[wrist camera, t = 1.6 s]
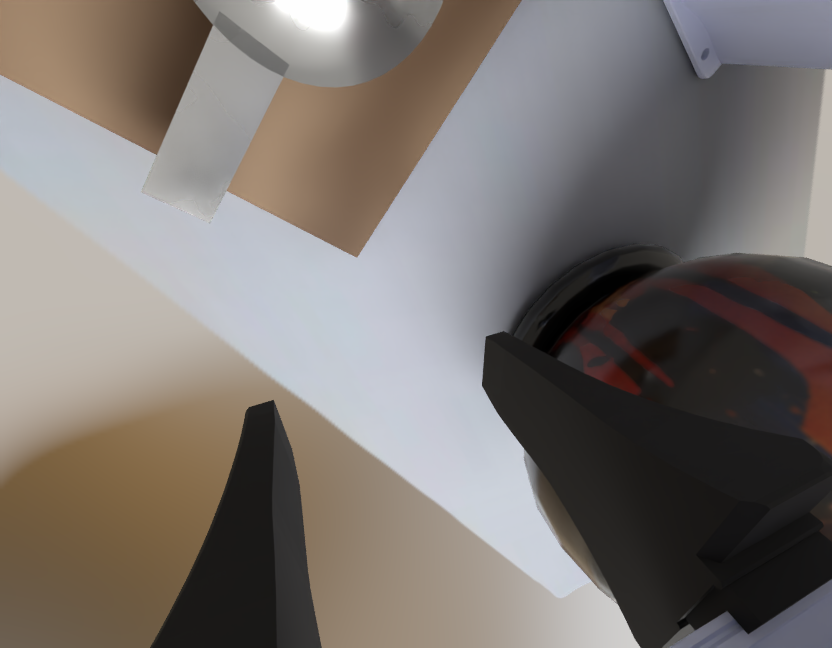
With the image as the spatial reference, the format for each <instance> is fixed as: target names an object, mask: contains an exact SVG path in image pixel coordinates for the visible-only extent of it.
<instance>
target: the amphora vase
mask: <svg viewBox="0 0 832 648" xmlns="http://www.w3.org/2000/svg"><path fill="white" fill-rule="evenodd" d="M513 336H514V337H516V338H518V339H520V340H522V341H523V342H525V343H527V344H529V345H531V346H533V347H535V348H536V349H538V350H540V351H542V352H544V353H546V354H548V355H550V356H551V357H553V358H555V359H557V360H559V361H561V362H563V363H565V364H567V365H569V366H571V367H573V368H575V369H577V370H579V371H581V372H583V373H585V374H587V375H590V376H592V377H594V378H596V379H598V380H601V381H603V382H605V383H607V384H610V385H612V386H614V387H617V388H619V389H621V390H624V391H627V392H629V393H632V394H635V395H637V396H640V397H642V398H645V399H648V400H651V401H654V402H656V403H659V404H662V405H665V406H669V407H672V408H675V409H678V410H681V411H685V412H688V413H691V414H695V415H698V416H702V417H705V418H709V419H713V420H717V421H721V422H725V423H729V424H733V425H737V426H741V427H745V428H750V429H755V430H760V431H765V432H770V433H775V434H780V435H785V436H790V437H795V438H800V439H803V440H805V441H806V442H808V443H809V444H810V445H812V446H813V447H815V448H816V449H818V450H819V451H820V452H822V453H823V454H825V455H826V456H827V457H829V458H830V459H832V266H830V265H827V264H824V263H821V262H818V261H815V260H812V259H809V258H804V257H791V256H778V255H765V254H746V253H732V254H724V255H716V256H709V257H701V258H697V259H693V260H690V261H686V262H683V261H682V259H681V257H680V256H679V255H677V254H675V253H673V252H672V251H670V250H668V249H666V248H664V247H661V246H658V245H650V244H631V245H627V246H623V247H619V248H615V249H611V250H608V251H605V252H602V253H600V254H598V255H596V256H595V257H593V258H591V259H589V260H587V261H585V262H583V263H581V264H579V265H578V266H576V267H574V268H573V269H572V270H571V271H569V272H568V273H567V274H566V275H564V276H563V277H562V278H560V279H559V280H558V281H557V282H555V283H554V284H553V285H552V286H550V288H549V289H548V290H547V291H546V292H545V293H544V294H543V295H542V296H541V297H540V298H539V300H538V301H537V302H536V303H535V304H534V305H533V306H532V307H531V308H530V309H529V311H528V312H527V314H526V316H525V317H524V319H523V320H522V322H521V324H520V325H519V327H518V328H517V330H516V332H515V333H514V335H513ZM524 461H525V465H526V469H527V473H528V478H529V481H530V485H531V488H532V492H533V495H534V499H535V502H536V505H537V508H538V510H539V512H540V513H541V515H542V516H543V518H544V520H545V521H546V523H547V525H548V526H549V528H550V529H551V531H552V533H553V534H554V536H555V537H556V539H557V541H558V542H559V544H560V546H561V547H562V548H563V549H564V551H565V552H566V553H567V554H568V555H569V556H570V557H571V558H572V559H573V561H574V562H575V563H576V564H577V565H578V566H579V567H580V568H581V569H582V571H583V572H584V573H585V574H586V575H587V576H588V577H589V578H590V579H591V581H592V582H593V583H594V584H595V585H596V586H597V587H598V588H599V589H600V590H601V591H602V592H603V593H605V594H606V595H607V596H608V597H609V598H611V599H612V600H613V601H614V602H615V603H617V601H616V599H615V597H614V595H613V593H612V591H611V590H610V588H609V586H608V584H607V582H606V580H605V578H604V576H603V574H602V572H601V570H600V569H599V567H598V565H597V563H596V561H595V559H594V558H593V556H592V554H591V552H590V550H589V548H588V547H587V545H586V543H585V541H584V540H583V538H582V536H581V534H580V533H579V531H578V529H577V527H576V526H575V524H574V522H573V521H572V519H571V517H570V515H569V514H568V512H567V510H566V509H565V507H564V506H563V504H562V502H561V501H560V499H559V497H558V496H557V494H556V492H555V491H554V489H553V488H552V486H551V484H550V483H549V482H548V480H547V479H546V477H545V476H544V474H543V473H542V472H541V470H540V469H539V468H538V466H537V465H536V464H535V462H534V461H533V460H532V458H531V457H530V456H529V454H528V453H527V452H526V450H525V449H524ZM810 513H811V514H813V515H814V516H815V517H816V518H818V519H819V520H820V521H821V522H823V525H824V527H823V528H822V529H820V530H819V532H821V533H822V534H823V535H824V536H825V537H827V538H828V539H829V540H830V541H831V542H832V490H831V491H830V492H829V493H828V494H827V495H826V496H825V497H824V498H823V499H822V500H821V501H820V502H819V503H818V504H817V505H816V506H815V507H814V508H813V509H812V510H811V511H810ZM617 604H618V603H617Z"/></svg>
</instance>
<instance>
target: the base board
mask: <svg viewBox="0 0 832 648" xmlns="http://www.w3.org/2000/svg"><path fill="white" fill-rule="evenodd" d="M520 2H521V0H443V3H442V6H441V8H440V10H439V12H438V14H437V16H436V18H435V20H434V22H433V24H432V26H431V27H430V29H429V30H428V32H427V33H426V35H425V36H424V38H423V39H422V41H421V42H420V43H419V44H418V46H417V47H416V48H415V49H414V50H413V51H412V52H411V54H410V55H409V56H407V57H406V58H405V59H404V60H403V61H402V62H401V63H400V64H398V65H397V66H396V67H394V68H393V69H391V70H390V71H388V72H387V73H385V74H384V75H381V76H379V77H377V78H375V79H373V80H370V81H368V82H364V83H361V84H357V85H354V86H345V87H318V86H313V85H308V84H303V83H300V82H297V81H294V80H291V79H288V78H285V77H283V79H282V81H281V83H280V85H279V87H278V89H277V91H276V93H275V95H274V97H273V99H272V101H271V103H270V105H269V107H268V109H267V111H266V113H265V115H264V117H263V119H262V121H261V123H260V125H259V127H258V129H257V131H256V133H255V135H254V137H253V139H252V141H251V143H250V145H249V147H248V149H247V151H246V153H245V155H244V157H243V159H242V161H241V163H240V165H239V167H238V169H237V171H236V173H235V175H234V177H233V179H232V181H231V183H230V185H229V187H228V189H227V191H228V192H230V193H232V194H234V195H236V196H238V197H240V198H242V199H244V200H246V201H248V202H250V203H252V204H253V205H255V206H257V207H259V208H261V209H263V210H265V211H267V212H269V213H271V214H273V215H275V216H277V217H279V218H281V219H283V220H285V221H287V222H288V223H290V224H292V225H294V226H296V227H298V228H300V229H302V230H304V231H306V232H308V233H310V234H312V235H314V236H316V237H318V238H320V239H322V240H324V241H325V242H327V243H329V244H331V245H333V246H335V247H337V248H339V249H341V250H343V251H345V252H347V253H349V254H351V255H353V256H355V257H358V255H359V254H360V252H361V250H362V249H363V247H364V246H365V244H366V243H367V241H368V240H369V238H370V236H371V235H372V233H373V232H374V230H375V229H376V227H377V225H378V224H379V222H380V221H381V219H382V218H383V216H384V214H385V213H386V211H387V210H388V208H389V207H390V205H391V204H392V202H393V200H394V199H395V197H396V196H397V194H398V193H399V191H400V189H401V188H402V186H403V185H404V183H405V182H406V180H407V179H408V177H409V175H410V174H411V172H412V171H413V169H414V168H415V166H416V164H417V163H418V161H419V160H420V158H421V157H422V155H423V154H424V152H425V150H426V149H427V147H428V146H429V144H430V143H431V141H432V139H433V138H434V136H435V135H436V133H437V132H438V130H439V129H440V127H441V125H442V124H443V122H444V121H445V119H446V118H447V116H448V114H449V113H450V111H451V110H452V108H453V107H454V105H455V104H456V102H457V100H458V99H459V97H460V96H461V94H462V93H463V91H464V89H465V88H466V86H467V85H468V83H469V82H470V80H471V79H472V77H473V75H474V74H475V72H476V71H477V69H478V68H479V66H480V64H481V63H482V61H483V60H484V58H485V57H486V55H487V54H488V52H489V50H490V49H491V47H492V46H493V44H494V43H495V41H496V39H497V38H498V36H499V35H500V33H501V32H502V30H503V29H504V27H505V25H506V24H507V22H508V21H509V19H510V18H511V16H512V14H513V13H514V11H515V10H516V8H517V7H518V5H519V4H520ZM212 27H213V24H212V23H211V22H210V21H209V19H208V18H207V17H206V16H205V15H204V13H203V12H202V11H201V10H200V8H199V7H198V6H197V5H196V3H195V2H194V0H0V75H2V76H4V77H6V78H8V79H10V80H12V81H14V82H16V83H18V84H20V85H22V86H24V87H26V88H28V89H30V90H32V91H33V92H35V93H37V94H39V95H41V96H43V97H45V98H47V99H49V100H51V101H53V102H55V103H57V104H59V105H61V106H63V107H65V108H67V109H69V110H70V111H72V112H74V113H76V114H78V115H80V116H82V117H84V118H86V119H88V120H90V121H92V122H94V123H96V124H98V125H100V126H102V127H104V128H106V129H107V130H109V131H111V132H113V133H115V134H117V135H119V136H121V137H123V138H125V139H127V140H129V141H131V142H133V143H135V144H137V145H139V146H141V147H142V148H144V149H146V150H148V151H150V152H152V153H154V154H156V155H157V154H158V152H159V149H160V147H161V145H162V142H163V140H164V138H165V135H166V133H167V131H168V128H169V126H170V124H171V122H172V119H173V117H174V115H175V112H176V110H177V108H178V105H179V103H180V101H181V98H182V96H183V94H184V91H185V89H186V87H187V85H188V82H189V80H190V78H191V75H192V73H193V71H194V68H195V66H196V64H197V61H198V59H199V57H200V55H201V52H202V50H203V48H204V45H205V43H206V41H207V38H208V36H209V34H210V31H211V29H212Z"/></svg>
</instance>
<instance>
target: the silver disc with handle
mask: <svg viewBox="0 0 832 648" xmlns="http://www.w3.org/2000/svg"><path fill="white" fill-rule="evenodd" d="M194 2H195V3H196V5H197V6H198V7H199V8H200V10H201V11H202V12H203V13H204V15H205V16H206V17H207V18H208V19H209V21H210V22H211V23H212V24H213V27H212V29H211V31H210V34H209V36H208V38H207V41H206V43H205V45H204V48H203V50H202V52H201V55H200V57H199V59H198V61H197V64H196V66H195V68H194V71H193V73H192V75H191V78H190V80H189V82H188V85H187V87H186V89H185V91H184V94H183V96H182V98H181V101H180V103H179V105H178V108H177V110H176V112H175V115H174V117H173V119H172V122H171V124H170V126H169V128H168V131H167V133H166V135H165V138H164V140H163V142H162V145H161V147H160V149H159V152H158V154H157V156H156V158H155V161H154V163H153V165H152V168H151V170H150V172H149V175H148V177H147V179H146V182H145V184H144V186H143V188H142V191H141V192H142V193H144V194H146V195H148V196H151V197H153V198H155V199H157V200H159V201H162V202H164V203H166V204H168V205H170V206H173V207H175V208H177V209H179V210H181V211H184V212H186V213H188V214H190V215H192V216H195V217H197V218H199V219H201V220H203V221H206V222H208V223H210V222H211V220H212V218H213V216H214V214H215V212H216V210H217V208H218V206H219V204H220V202H221V200H222V198H223V196H224V195H225V193H226V191H227V189H228V187H229V185H230V183H231V181H232V179H233V177H234V175H235V173H236V171H237V169H238V167H239V165H240V163H241V161H242V159H243V157H244V155H245V153H246V151H247V149H248V147H249V145H250V143H251V141H252V139H253V137H254V135H255V133H256V131H257V129H258V127H259V125H260V123H261V121H262V119H263V117H264V115H265V113H266V111H267V109H268V107H269V105H270V103H271V101H272V99H273V97H274V95H275V93H276V91H277V89H278V87H279V85H280V83H281V81H282V79H283V77H285V78H288V79H291V80H294V81H297V82H300V83H303V84H308V85H313V86H318V87H345V86H354V85H357V84H361V83H364V82H368V81H370V80H373V79H375V78H377V77H379V76H381V75H384V74H385V73H387V72H388V71H390V70H391V69H393V68H394V67H396V66H397V65H398V64H400V63H401V62H402V61H403V60H404V59H405V58H406V57H407V56H409V55H410V54H411V52H412V51H413V50H414V49H415V48H416V47H417V46H418V44H419V43H420V42H421V41H422V39H423V38H424V36H425V35H426V33H427V32H428V30H429V29H430V27H431V26H432V24H433V22H434V20H435V18H436V16H437V14H438V12H439V10H440V8H441V6H442V3H443V0H194Z"/></svg>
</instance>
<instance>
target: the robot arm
mask: <svg viewBox="0 0 832 648" xmlns="http://www.w3.org/2000/svg"><path fill="white" fill-rule="evenodd" d="M663 1H664V4H665V6H666V8H667V10H668V12H669V14H670V17H671V19H672V21H673V23H674V25H675V27H676V30H677V32H678V34H679V36H680V38H681V40H682V43H683V45H684V47H685V49H686V51H687V54H688V56H689V58H690V60H691V62H692V64H693V67H694V69H695V71H696V73H697V75H698V77H699V78H704V79H708V78H710V77H711V76H712V75H713V74H714V73H715V71H716V70H717V69H718V68H719V67H720V65H721V64H740V65H759V66H778V67H796V68H815V69H832V0H663ZM482 386H483V388H484V390H485V392H486V394H487V395H488V397H489V399H490V401H491V403H492V404H493V406H494V408H495V409H496V411H497V413H498V414H499V416H500V417H501V419H502V420H503V421H504V423H505V424H506V425H507V427H508V428H509V429H510V431H511V432H512V433H513V435H514V436H515V437H516V439H517V440H518V441H519V443H520V444H521V445H522V447H523V448H524V449H525V450H526V452H527V453H528V454H529V456H530V457H531V458H532V460H533V461H534V462H535V464H536V465H537V466H538V468H539V469H540V470H541V472H542V473H543V474H544V476H545V477H546V479H547V480H548V482H549V483H550V484H551V486H552V488H553V489H554V491H555V492H556V494H557V496H558V497H559V499H560V501H561V502H562V504H563V506H564V507H565V509H566V510H567V512H568V514H569V515H570V517H571V519H572V521H573V522H574V524H575V526H576V527H577V529H578V531H579V533H580V534H581V536H582V538H583V540H584V541H585V543H586V545H587V547H588V548H589V550H590V552H591V554H592V556H593V558H594V559H595V561H596V563H597V565H598V567H599V569H600V570H601V572H602V574H603V576H604V578H605V580H606V582H607V584H608V586H609V588H610V590H611V591H612V593H613V595H614V597H615V599H616V601H617V603H618V605H619V607H620V609H621V611H622V613H623V615H624V617H625V619H626V621H627V623H628V625H629V628H630V630H631V632H632V634H633V636H634V638H635V639H636V641H637V643H638V644H639V646H640V647H641V648H832V542H831V541H830V540H829V539H828V538H827V537H825V536H824V535H823V534H822V533H821V532H819V530H820V529H822V528H823V527H824V525H823V522H821V521H820V520H819V519H818V518H816V517H815V516H814V515H813V514H811V513H810V511H811V510H812V509H813V508H814V507H815V506H816V505H817V504H818V503H819V502H820V501H821V500H822V499H823V498H824V497H825V496H826V495H827V494H828V493H829V492H830V491H831V490H832V459H830V458H829V457H827V456H826V455H825V454H823V453H822V452H820V451H819V450H818V449H816V448H815V447H813V446H812V445H810V444H809V443H808V442H806V441H805V440H803V439H800V438H795V437H790V436H785V435H780V434H775V433H770V432H765V431H760V430H755V429H750V428H745V427H741V426H737V425H733V424H729V423H725V422H721V421H717V420H713V419H709V418H705V417H702V416H698V415H695V414H691V413H688V412H685V411H681V410H678V409H675V408H672V407H669V406H665V405H662V404H659V403H656V402H654V401H651V400H648V399H645V398H642V397H640V396H637V395H635V394H632V393H629V392H627V391H624V390H621V389H619V388H617V387H614V386H612V385H610V384H607V383H605V382H603V381H601V380H598V379H596V378H594V377H592V376H590V375H587V374H585V373H583V372H581V371H579V370H577V369H575V368H573V367H571V366H569V365H567V364H565V363H563V362H561V361H559V360H557V359H555V358H553V357H551V356H550V355H548V354H546V353H544V352H542V351H540V350H538V349H536V348H535V347H533V346H531V345H529V344H527V343H525V342H523V341H522V340H520V339H518V338H516V337H514V336H512V335H510V334H508V333H506V332H504V331H503V332H500V333H496V334H493V335H490V336H486V341H485V354H484V367H483V380H482ZM150 648H322V647H321V642H320V637H319V633H318V627H317V622H316V617H315V611H314V606H313V600H312V595H311V590H310V583H309V575H308V567H307V556H306V546H305V536H304V525H303V515H302V505H301V495H300V485H299V480H298V475H297V471H296V466H295V461H294V456H293V452H292V448H291V445H290V443H289V440H288V437H287V435H286V432H285V429H284V426H283V424H282V421H281V418H280V416H279V413H278V410H277V408H276V405H275V403H274V400H272V401H268V402H265V403H262V404H258V405H255V406H252V407H249V408H248V409H247V411H246V413H245V419H244V424H243V429H242V434H241V437H240V441H239V445H238V449H237V452H236V456H235V459H234V462H233V465H232V469H231V471H230V474H229V478H228V481H227V484H226V487H225V490H224V493H223V495H222V498H221V500H220V503H219V505H218V508H217V511H216V513H215V516H214V519H213V521H212V524H211V526H210V529H209V531H208V533H207V536H206V538H205V540H204V543H203V545H202V547H201V550H200V552H199V554H198V556H197V558H196V560H195V563H194V565H193V567H192V569H191V571H190V573H189V575H188V577H187V579H186V581H185V583H184V585H183V587H182V589H181V591H180V593H179V595H178V597H177V599H176V601H175V603H174V605H173V607H172V609H171V611H170V613H169V615H168V616H167V618H166V620H165V622H164V624H163V626H162V628H161V629H160V631H159V633H158V635H157V637H156V638H155V640H154V642H153V644H152V645H151V647H150Z"/></svg>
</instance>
